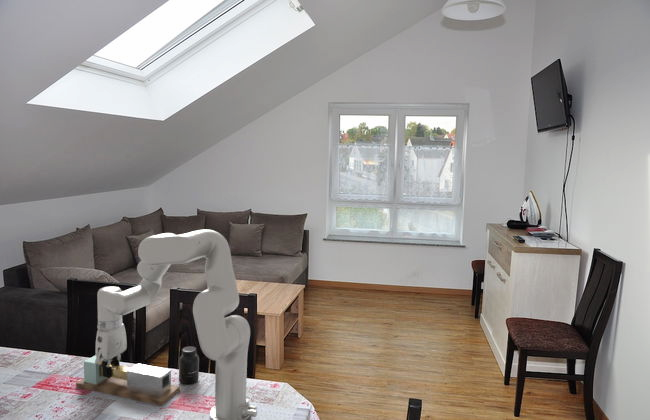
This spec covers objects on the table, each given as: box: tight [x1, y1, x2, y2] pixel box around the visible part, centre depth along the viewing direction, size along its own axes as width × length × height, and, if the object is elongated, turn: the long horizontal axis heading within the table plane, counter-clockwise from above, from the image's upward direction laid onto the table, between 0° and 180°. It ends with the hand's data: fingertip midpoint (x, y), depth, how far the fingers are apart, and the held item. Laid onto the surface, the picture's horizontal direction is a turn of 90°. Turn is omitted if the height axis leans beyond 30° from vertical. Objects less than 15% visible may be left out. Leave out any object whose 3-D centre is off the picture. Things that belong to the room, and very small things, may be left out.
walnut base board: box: [75, 377, 181, 407], centre depth 153 cm, size 34×10×2 cm, turn 74°
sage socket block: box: [83, 354, 112, 384], centre depth 156 cm, size 5×7×8 cm
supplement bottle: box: [178, 346, 200, 386], centre depth 160 cm, size 7×7×12 cm
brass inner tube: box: [99, 364, 131, 380], centre depth 153 cm, size 20×3×3 cm, turn 74°
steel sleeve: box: [127, 363, 172, 397], centre depth 150 cm, size 13×6×7 cm, turn 74°
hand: (111, 373), depth 155 cm, fingers closed on brass inner tube, 3 cm apart
